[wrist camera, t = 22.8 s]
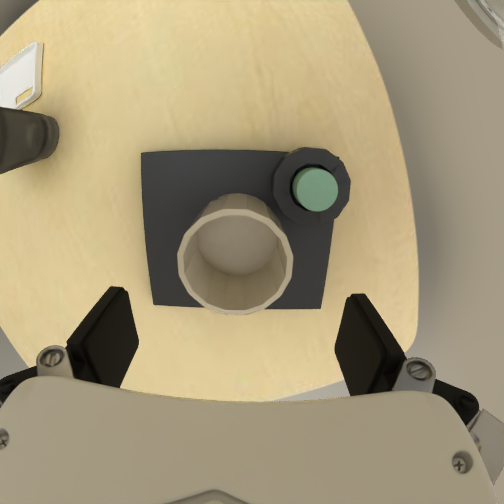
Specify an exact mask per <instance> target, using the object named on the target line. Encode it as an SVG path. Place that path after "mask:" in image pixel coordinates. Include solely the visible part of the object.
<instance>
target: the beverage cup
mask: <svg viewBox="0 0 504 504" xmlns="http://www.w3.org/2000/svg"><path fill="white" fill-rule="evenodd" d="M58 139H59V128H58V124H57V122H56V121H55V119H54V118H52V117H50V116H46V115H43V114H39V113H34V112H29V111H23V110H18V109H12V108H5V107H0V174H2V173H5V172H8V171H10V170H13V169H16V168H19V167H22V166H25V165H28V164H31V163H34V162H37V161H39V160H41V159H45V158H47V157H49V156H50V155H51V154H52V153H53V151H54V150H55V148H56V146H57V143H58Z"/></svg>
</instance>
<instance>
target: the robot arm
mask: <svg viewBox="0 0 504 504" xmlns="http://www.w3.org/2000/svg"><path fill="white" fill-rule="evenodd" d="M476 2H477V3H478V4H479V6H480V7H481V8H482V9H483V11H484V12H485V13H486V14H487V15H488V16H489V17H490V19H491V20H492V21H493V22H494V23H496V24H497V25H498V26H499V27H500V28H502V29H503V30H504V0H476ZM138 345H139V339H138V335H137V331H136V327H135V322H134V318H133V314H132V309H131V304H130V299H129V294H128V292H127V291H125V289H124V288H123V287H114V286H111V287H110V288H109V289H108V290H107V291H106V292H105V293H104V295H103V296H102V297H101V298H100V299H99V301H98V302H97V303H96V304H95V306H94V307H93V308H92V309H91V311H90V312H89V313H88V314H87V316H86V317H85V318H84V319H83V321H82V322H81V323H80V325H79V326H78V327H77V328H76V330H75V331H74V332H73V334H72V335H71V336H70V338H69V339H68V340H67V346H66V348H64V347H62V346H58V345H54V346H49V347H47V348H45V349H43V350H42V351H41V352H40V353H39V354H38V356H37V359H36V364H37V366H34V367H31V368H28V369H26V370H23V371H20V372H17V373H15V374H12V375H9V376H6V377H4V378H3V379H1V380H0V504H499V503H498V500H497V497H496V494H495V491H494V487H493V485H494V484H495V482H496V480H497V478H498V476H499V474H500V472H501V470H502V468H503V466H504V423H503V422H501V421H500V420H498V419H497V418H496V417H494V416H493V415H492V414H490V413H489V412H487V411H486V410H484V409H482V411H480V410H479V403H478V401H477V399H476V397H475V396H473V395H472V394H471V393H469V392H467V391H465V390H462V389H459V388H457V387H454V386H452V385H449V384H447V383H445V382H442V381H440V380H437V379H435V377H436V371H435V368H434V367H433V365H432V364H431V363H430V362H428V361H427V360H425V359H422V358H418V357H412V358H409V359H407V358H406V357H405V355H404V352H403V350H402V348H401V347H400V345H399V344H398V342H397V341H396V339H395V338H394V336H393V334H392V333H391V331H390V330H389V328H388V327H387V325H386V324H385V322H384V321H383V319H382V318H381V316H380V315H379V313H378V312H377V310H376V309H375V307H374V306H373V305H372V303H371V302H370V300H369V299H368V297H367V296H366V295H365V294H363V293H362V294H351V296H350V297H347V299H346V302H345V307H344V311H343V315H342V319H341V324H340V328H339V331H338V335H337V339H336V343H335V354H336V357H337V360H338V362H339V365H340V368H341V371H342V373H343V376H344V379H345V382H346V385H347V388H348V390H349V393H350V397H341V398H331V399H319V400H304V401H282V402H281V401H279V402H241V401H217V400H202V399H191V398H181V397H172V396H164V395H157V394H150V393H143V392H137V391H132V390H126V389H121V388H120V386H121V383H122V381H123V379H124V377H125V374H126V372H127V370H128V368H129V365H130V363H131V361H132V359H133V357H134V355H135V352H136V350H137V348H138Z"/></svg>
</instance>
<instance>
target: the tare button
mask: <svg viewBox="0 0 504 504" xmlns="http://www.w3.org/2000/svg"><path fill="white" fill-rule="evenodd" d="M293 193H294V196H295V198H296V199H297V200H298V201H299V202H300V203H301V204H302V205H303V206H304V207H305V208H306V209H308V210H311V211H323V210H326V209H328V208H329V207H330V206H331V205H332V204H333V203H334V202H335V200H336V198H337V195H338V186H337V182H336V180H335V178H334V177H333V176H332V175H331V174H330V173H329V172H327V171H325V170H322V169H319V168H314V167H310V168H306V169H303V170H302V171H300V172H299V173H298V174H297V175H296V177H295V179H294V181H293Z"/></svg>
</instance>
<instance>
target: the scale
mask: <svg viewBox="0 0 504 504" xmlns="http://www.w3.org/2000/svg"><path fill="white" fill-rule="evenodd" d="M310 167H314V168H319V169H322V170H325V171H327V172H329V173H330V174H331V175H332V176H333V177H334V178H335V180H336V182H337V186H338V195H337V198H336V200H335V202H334V203H333V204H332V205H331V206H330V207H329V208H328V209H326V210H323V211H311V210H308V209H306V208H305V207H304V206H303V205H302V204H301V203H300V202H299V201H298V200H297V199H296V198H295V196H294V193H293V181H294V179H295V177H296V175H297V174H298V173H299V172H300V171H302V170H303V169H306V168H310ZM141 179H142V202H143V218H144V230H145V241H146V251H147V260H148V269H149V276H150V284H151V291H152V297H153V304H154V305H164V306H181V307H201V308H205V307H204V306H202V305H201V304H200V303H199V302H198V301H197V300H195V299H194V298H193V297H192V296H191V295H190V294H189V293H188V292H187V290H186V288H185V286H184V284H183V282H182V280H181V278H180V276H179V272H178V260H177V253H178V250H179V248H180V245H181V242H182V239H183V237H184V234H185V233H186V231H187V230H188V228H189V227H190V225H191V224H192V223H193V221H194V220H195V218H196V217H197V215H198V214H199V213H200V212H201V211H202V210H203V209H204V207H205V206H206V205H207V204H209V203H210V202H211V201H213V200H214V199H216V198H218V197H220V196H223V195H226V194H232V193H241V194H248V195H251V196H254V197H256V198H258V199H260V200H262V201H263V202H265V203H266V204H267V205H268V206H269V207H270V208H271V209H272V210H273V212H274V213H275V214H276V215H277V217H278V219H279V221H280V223H281V226H282V228H283V230H284V232H285V234H286V237H287V239H288V242H289V245H290V248H291V251H292V254H293V267H292V277H291V279H290V281H289V283H288V285H287V286H286V288H285V290H284V292H283V293H282V295H281V296H280V297H279V298H278V299H276V300H275V301H274V302H273V303H271V304H270V305H269V306H268V307H266V308H265V309H321V304H322V298H323V292H324V286H325V280H326V274H327V267H328V260H329V253H330V246H331V238H332V230H333V222H334V219H335V218H337V217H338V216H339V214H340V213H341V211H342V210H343V208H344V207H345V206H346V204H347V203H348V201H349V194H350V183H351V181H350V178H349V175H348V173H347V171H346V168H345V166H344V164H343V162H342V161H341V160H340V159H339V157H336V156H334V155H333V154H332V153H330V152H329V151H327V150H326V149H318V148H307V147H301V148H298V149H296V150H294V151H292V152H278V151H256V150H182V151H161V152H146V153H141Z"/></svg>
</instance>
